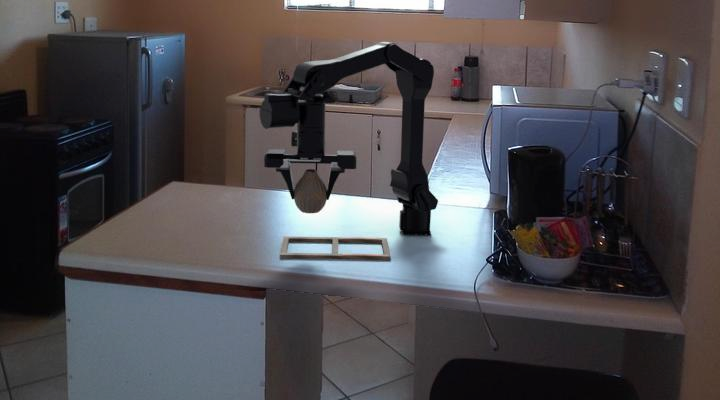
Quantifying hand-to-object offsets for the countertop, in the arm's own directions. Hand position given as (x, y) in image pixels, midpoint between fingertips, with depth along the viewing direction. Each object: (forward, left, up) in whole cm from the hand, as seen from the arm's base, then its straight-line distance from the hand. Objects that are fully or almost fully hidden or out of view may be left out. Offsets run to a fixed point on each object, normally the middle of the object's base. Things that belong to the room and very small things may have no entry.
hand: (310, 199), depth 160 cm
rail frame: (-5, 0, -11) cm, 12 cm away
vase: (0, 0, -3) cm, 3 cm away
